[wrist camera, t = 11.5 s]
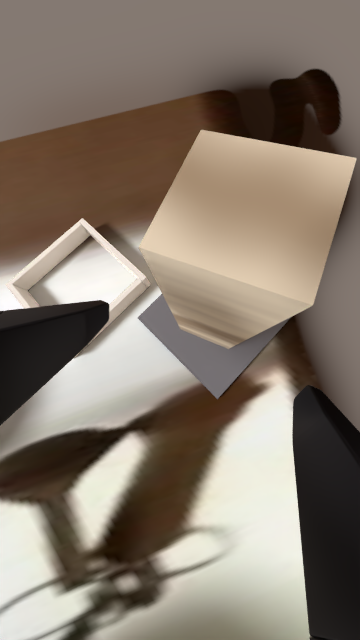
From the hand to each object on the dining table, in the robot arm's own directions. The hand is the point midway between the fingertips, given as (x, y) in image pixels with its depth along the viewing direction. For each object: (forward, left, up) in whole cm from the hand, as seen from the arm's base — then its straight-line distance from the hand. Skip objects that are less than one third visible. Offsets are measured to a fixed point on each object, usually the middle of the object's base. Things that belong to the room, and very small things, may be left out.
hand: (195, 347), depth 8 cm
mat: (+2, -4, -10) cm, 11 cm away
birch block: (+2, -4, -10) cm, 11 cm away
